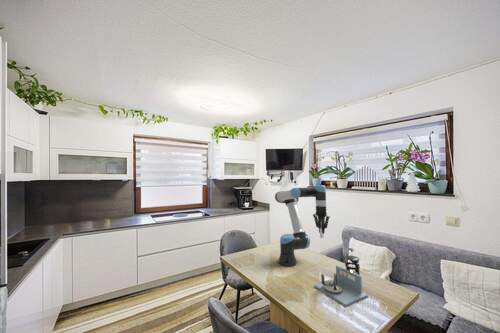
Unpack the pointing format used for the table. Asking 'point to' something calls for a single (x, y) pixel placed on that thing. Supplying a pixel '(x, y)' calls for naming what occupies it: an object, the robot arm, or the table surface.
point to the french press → (353, 263)
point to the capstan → (332, 285)
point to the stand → (346, 287)
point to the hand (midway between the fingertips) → (321, 237)
